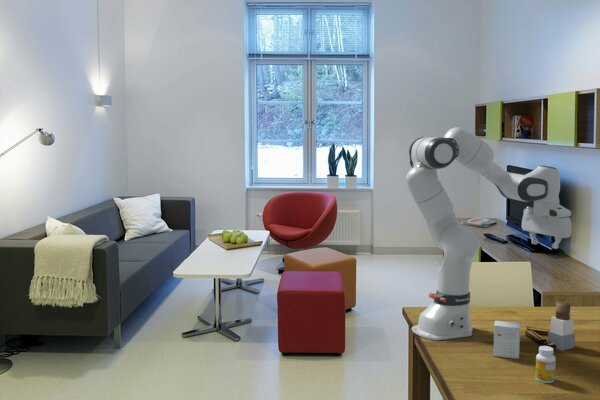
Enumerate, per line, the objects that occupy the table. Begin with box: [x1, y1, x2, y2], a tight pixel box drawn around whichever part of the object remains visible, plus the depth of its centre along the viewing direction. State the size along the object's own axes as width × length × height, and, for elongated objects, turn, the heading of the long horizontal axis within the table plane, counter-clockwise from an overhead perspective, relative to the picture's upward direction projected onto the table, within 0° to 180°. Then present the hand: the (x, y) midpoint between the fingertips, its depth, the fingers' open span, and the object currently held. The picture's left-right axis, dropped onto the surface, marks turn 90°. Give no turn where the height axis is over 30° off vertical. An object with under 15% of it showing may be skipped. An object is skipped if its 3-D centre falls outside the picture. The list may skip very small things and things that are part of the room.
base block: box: [547, 330, 576, 352], centre depth 214 cm, size 6×6×5 cm
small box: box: [493, 320, 521, 360], centre depth 207 cm, size 8×6×10 cm
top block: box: [550, 316, 575, 336], centre depth 214 cm, size 5×5×5 cm
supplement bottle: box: [534, 345, 557, 384], centre depth 187 cm, size 5×5×10 cm
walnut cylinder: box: [554, 301, 572, 320], centre depth 213 cm, size 4×4×5 cm
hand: (544, 246), depth 237 cm, fingers open, 8 cm apart
